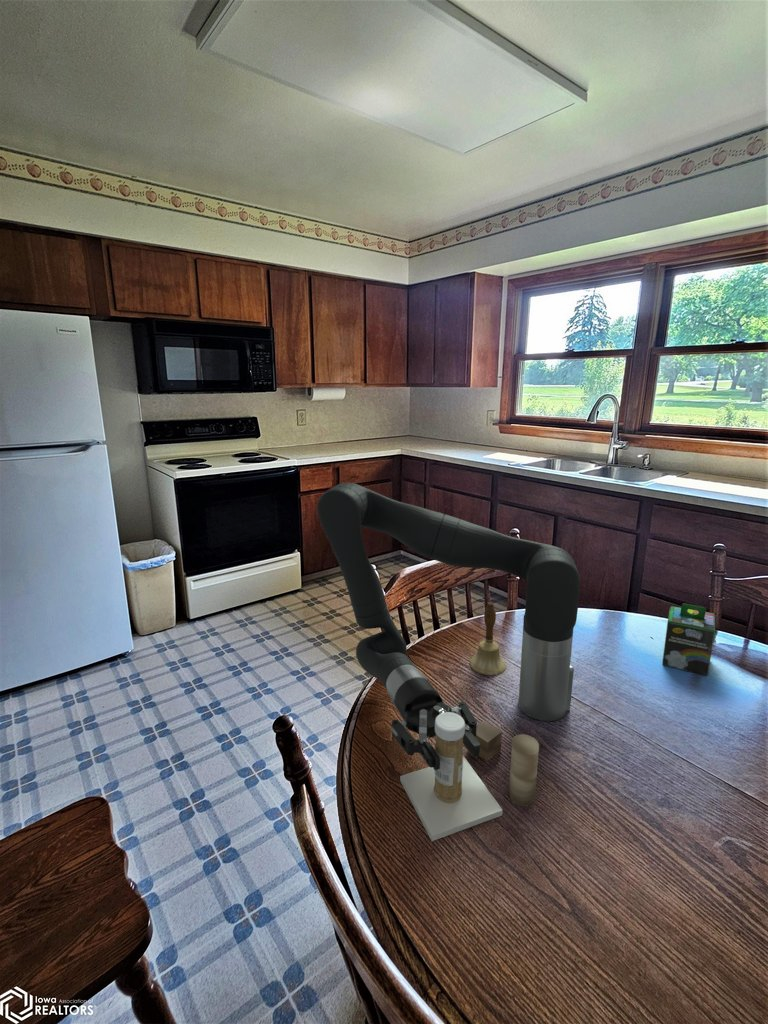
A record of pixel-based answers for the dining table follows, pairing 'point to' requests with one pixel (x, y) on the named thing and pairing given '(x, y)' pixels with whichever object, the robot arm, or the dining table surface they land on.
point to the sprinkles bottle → (449, 756)
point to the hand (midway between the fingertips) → (457, 758)
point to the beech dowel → (523, 769)
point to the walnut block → (488, 740)
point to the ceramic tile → (450, 815)
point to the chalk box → (689, 638)
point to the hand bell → (488, 648)
